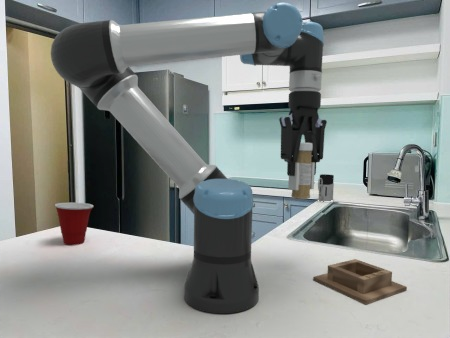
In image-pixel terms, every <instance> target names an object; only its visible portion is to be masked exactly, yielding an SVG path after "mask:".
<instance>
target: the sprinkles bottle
mask: <svg viewBox="0 0 450 338" xmlns="http://www.w3.org/2000/svg"><path fill="white" fill-rule="evenodd" d="M312 148H313V144H312V143H305V142H301V143H300V148H299V153H298V157H297V161H296V163H299V189H298V190H292V189H291V190H292V191H291V198H292V199H298V200H299V199H301V200H306V199H310V198H311V194H310V193H311V191H310V190H311V189H310V183H311V153H312Z"/></svg>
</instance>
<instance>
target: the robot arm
mask: <svg viewBox="0 0 450 338" xmlns="http://www.w3.org/2000/svg"><path fill="white" fill-rule="evenodd" d="M303 21H304V20H303V17H302V14H301V12H300V11H299V10H298V8H297V7H296V6H295V5H293V4H291V3H289V2H278V3H275V4H274V5H271V7H269V8H267V10H266V11H257V12H251V13H238V14H230V15H229V14H228V15H218V16H208V17H206V16H204V17H194V18H185V19H174V20H164V21H163V20H161V21H151V22H142V23H141V22H140V23H131V24H118V23H117V22H116V21H115V20H113V19H110V20H97V21H89V22H88V21H87V22H82V23H76V24H72V25H70V26H67V27H65V28H63V29H62V30H61V31H60V32H59V33H57V35H56V36H55V37H54V39H53V41H52V44H51V48H50V58H51V62H52V65H53V68H54V69H55V71H56V72H57V74H58V75H59V76H60V77H61V78H62V79H63V80H65V82H68V83H69V84H71V85H73V86H75V87H77V88H79V90H80V91H82V93H83V94H84V95H85V97H87V98H88V99H89V101H90V102H92V104H93V105H94V106H95V107H96V108H97V110H100V111H108V112H110V113H111V115H112V116H113V117H114V118H115V119H116V120H117V121H118V123H120V125H121V126H122V127H123V128H124V129H125V130H126V131H127V132H128V133H129V135H130V136H131V137H132V138H133V139H134V140H135V141H136V142H137V144H138V145H139V146H140V147H141V148H142V149H143V150H144V151H145V152H146V153H147V154H148V155H149V157H150V158H151V159H152V160H153V161H154V162H155V164H157V165H158V167H159V168H160V169H161V170H162V171H163V172H164V173H165V175H167V177H168V178H169V179H170V180H171V181H172V182H173V183H174V184H175V185H176V186H177V188H178V190H179V191H178V199H180V200H181V202H182V203H183V204H184V205H185V206H186V207H187V208H188V209H189V211H190V212H191V213H192V214H193V259H192V263H191V265H190V269H189V272H188V274H187V277H186V281H185V283H184V291H183V292H184V293H183V294H184V295H183V296H184V297H183V298H184V300H185V302H186V303H187V304H188V305H189V306H191V307H192V308H194V309H196V310H199V311H201V312H207V313H214V314H232V313H233V314H234V313H239V312H242V311H247V310H249V309H251V308H253V307H254V306H255V305H256V304H257V303H258V302H259V297H260V296H259V295H260V294H259V293H260V289H259V288H260V287H259V283H258V280H257V277H256V276H257V275H256V273H255V269H254V266H253V262H252V236H253V235H252V234H253V233H252V231H253V207H254V197H253V189H252V187H251V186H250V185H249V184H248V183H246V182H244V181H239V180H237V179H231V178H227V176H226V175H225V174H224V173H223V171H221V170H220V169H219V168H218V166H217V165H216V164H208V163H206V162H205V161H204V160H203V159H202V158H201V157H200V155H199V154H198V153H197V152H196V151H195V150H194V148H192V147H191V145H190V144H189V142H187V141H186V140H185V138H184V137H183V136H182V135H181V134H180V133H179V132H178V131H177V129H176V128H175V127H174V126H173V125H172V124H171V123H170V121H169V120H168V119H167V118H166V117H165V116H164V114H163V113H161V111H160V110H159V109H158V108H157V107H156V105H155V104H154V103H153V102H152V101H151V100H150V99H149V97H148V96H146V94H145V93H144V92H143V91H142V90H141V89H140V87H139V86H138V85H139V84H138V82H139V77H138V75H137V74H136V73H135V72H134V71H133V69H132V68H131V67H140V66H141V67H142V66H148V65H149V66H150V65H159V64H167V63H176V62H186V61H194V60H196V61H197V60H205V59H214V58H222V57H223V58H224V57H232V56H239V59H240V62H241V63H242V64H243V65H252V66H274V67H275V66H276V67H277V66H280V67H281V66H282V67H289V78H288V79H289V81H288V90H289V91H290V92H289V94H288V108H289V109H290V110H289V112H288V115H287V116H281V117H279V118H278V121H279V124H280V125H279V126H280V159H281V160H284V162H286V163H287V168H286V169H287V171H286V174H287V176H288V184H287V185H288V186H287V187H288V190H298V189H299V163H296V161H297V157H298V153H299V148H300V143H302V137H303V136H304V143H312V144H313V148H312V153H311V183H310V190H314V189H315V176H316V173H317V163H320V162H321V160H323V158H324V148H325V147H324V146H325V131H326V130H325V129H326V126H327V124H328V122H327V120H326V119H322V118H320V115H319V113H318V112H319V109H320V108H321V102H322V93H321V92H320V91H321V90H322V73H323V68H322V67H323V54H324V53H323V52H324V47H325V46H324V45H325V44H324V30H323V29H324V28H323V26H322V25H321V24H320V23H317V22H315V21H305V22H303Z"/></svg>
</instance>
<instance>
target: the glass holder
mask: <svg viewBox="0 0 450 338" xmlns="http://www.w3.org/2000/svg"><path fill="white" fill-rule="evenodd" d="M334 178H335V176H334V175H333V174H325V173H324V174H323V173H322V174H319V178H318V180H317V190H318V199H317V201H318V200H319V201H331V200H333V201H334V186H335V185H334V180H335V179H334Z"/></svg>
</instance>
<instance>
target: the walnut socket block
mask: <svg viewBox="0 0 450 338" xmlns="http://www.w3.org/2000/svg"><path fill="white" fill-rule="evenodd" d="M392 277H393V271H391V270H388V269H385V268H382V267H380V266H377V265H374V264H370V263H368V262H365V261H362V260H359V259H356V258H353V259H349V260H346V261H342V262H341V261H340V262H337V263H332V264H329V265H327V273H323V274H320V275H316V276H315V275H314V276H313V277H312V280H313V281H314V282H317V283H318V284H320V285H322V286H325V287H327V288H329V289H331V290H334V291H335V292H336V293H337V292H338V293H340V294H341V295H344V296H347V298H348V297H349V298H351V299H352V300H355V301H358V302H360V303H361V304H364V305H366V306H367V305H368V304H372V303H374V302H377V301H380V300H383V299H386V298H389V297H392V296H394V295H398V294H400V293H403V292H406V291H407V289H408V288H407V286H406V285H403V284H400V283H399V282H396V281H393V278H392Z"/></svg>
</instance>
